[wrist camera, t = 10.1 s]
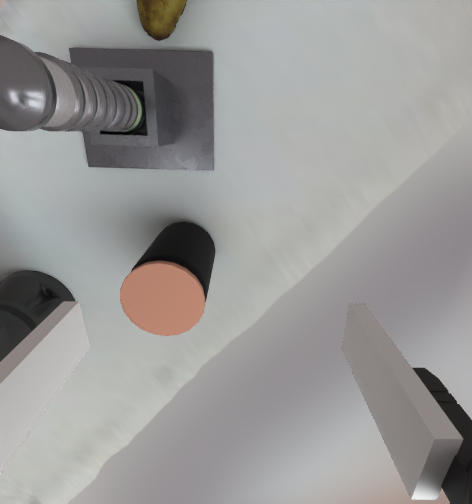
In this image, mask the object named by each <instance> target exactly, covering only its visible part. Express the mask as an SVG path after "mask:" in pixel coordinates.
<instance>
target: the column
mask: <svg viewBox="0 0 472 504" xmlns="http://www.w3.org/2000/svg"><path fill="white" fill-rule="evenodd" d="M146 122H147V121H146V109H145V99H144V98H143V96H142V95H141V94H140V93H139V92H138V91H136V90H134V89H132V88H130V87H127V86H125V85H122V84H120V83H117V82H115V81H112V80H110V79H107V78H102V77H101V76H99V75H97V74H95V73H93V72H90V71H87V70H85V69H83V68H80V67H78V66H75V65H73V64H70V63H68V62H65V61H63V60H60V59H58V58H55V57H53V56H51V55H48V54H45V53H41V52H34V51H32V50H31V49H30V48H28V47H27V46H25V45H23V44H21V43H18V42H16V41H13V40H11V39H9V38H6V37H4V36H1V35H0V129H3V130H7V131H33V130H37V129H43V130H47V131H101V130H103V131H122V132H126V131H128V132H131V131H137V130H139V129H141V128H142V127H143V126H144V125H145V123H146Z"/></svg>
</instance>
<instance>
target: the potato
mask: <svg viewBox="0 0 472 504" xmlns="http://www.w3.org/2000/svg"><path fill="white" fill-rule="evenodd" d="M186 2H187V0H137V7H138V12H139V17H140V21H141V24H142V26H143V28H144V30H145V31H146V32H147V33H148V35H149V36H151V37H152V38H153V39H155V40H159V41H160V40H163V39H166V38H168V37H169V36H170V35H171V33H172V32H173V31H174V28H175V27H176V23H177V22H178V19H179V16H180V15H181V14H182V13H183V11H184V8H185V6H186Z"/></svg>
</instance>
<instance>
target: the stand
mask: <svg viewBox="0 0 472 504" xmlns="http://www.w3.org/2000/svg"><path fill="white" fill-rule="evenodd" d="M69 51H70V57H71V63H72V64H73V65H75V66H78V67H80V68H83V69H85V70H87V71H90V72H93V73H95V74H97V75H99V76H101V77H102V78H107V79H110V80H112V81H115V82H117V83H120V84H122V85H125V86H127V87H130V88H132V89H134V90H136V91H138V92H139V93H140V94H141V95H142V96H143V98H144V99H145V109H146V121H147V122H146V123H145V125H144V126H143V127H142V128H141V129H139V130H137V131H131V132H128V131H126V132H122V131H103V130H101V131H83V136H84V142H85V148H86V154H87V160H88V166H89V167H107V168H143V169H179V170H214V113H213V52H201V51H165V50H128V49H92V48H69Z"/></svg>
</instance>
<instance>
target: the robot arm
mask: <svg viewBox="0 0 472 504" xmlns="http://www.w3.org/2000/svg"><path fill="white" fill-rule="evenodd" d="M89 348H90V344H89V340H88V336H87V332H86V328H85V324H84V320H83V316H82V312H81V308H80V304H79V302H75V300H74V298H73V296H72V295H71V293H70V292H69V290H68V289H67V288H66V287H65V286H64V285H63V284H62V283H60V282H59V281H58V280H56V279H54V278H53V277H51V276H49V275H46V274H43V273H40V272H35V271H21V272H17V273H14V274H12V275H10V276H8V277H7V278H5V279H4V280H2V281H1V282H0V474H1V473H2V471H3V470H4V469H5V467H6V466H7V464H8V463H9V461H10V460H11V459H12V457H13V456H14V454H15V453H16V452H17V450H18V449H19V447H20V446H21V444H22V443H23V442H24V440H25V439H26V437H27V436H28V434H29V433H30V432H31V430H32V429H33V427H34V426H35V424H36V423H37V422H38V420H39V419H40V417H41V416H42V414H43V413H44V412H45V410H46V409H47V407H48V406H49V404H50V403H51V402H52V400H53V399H54V397H55V396H56V395H57V393H58V392H59V390H60V389H61V387H62V386H63V385H64V383H65V382H66V380H67V379H68V377H69V376H70V375H71V373H72V372H73V370H74V369H75V367H76V366H77V365H78V363H79V362H80V360H81V359H82V357H83V356H84V355H85V353H86V352H87V350H88V349H89ZM341 349H342V351H343V353H344V355H345V358H346V360H347V362H348V364H349V366H350V368H351V370H352V373H353V375H354V377H355V379H356V381H357V383H358V386H359V388H360V390H361V392H362V394H363V396H364V399H365V401H366V403H367V405H368V407H369V409H370V412H371V414H372V416H373V418H374V420H375V422H376V424H377V427H378V429H379V431H380V433H381V435H382V438H383V440H384V442H385V444H386V446H387V448H388V450H389V453H390V455H391V457H392V459H393V461H394V464H395V466H396V468H397V470H398V472H399V474H400V477H401V479H402V481H403V483H404V485H405V487H406V490H407V492H408V494H409V496H410V498H411V499H418V500H437V497H438V495H439V493H440V491H441V488H442V489H443V490H444V492H445V494H446V496H447V498H448V499H449V501H450V504H472V420H471V419H470V417H469V416H468V415H467V414H466V413H465V411H464V410H463V409H462V407H461V406H460V405H459V404H457V401H456V400H455V399H454V397H453V396H452V395H451V394H449V393H448V390H447V389H446V387H445V386H444V385H443V384H442V382H441V381H440V380H439V379H438V378H437V377H436V376H435V375H433V374H432V373H431V372H429V371H428V370H427V369H425V368H412V367H411V366H410V364H409V363H408V362H407V360H406V359H405V358H404V356H403V355H402V353H401V352H400V351H399V349H398V348H397V346H396V345H395V344H394V342H393V341H392V339H391V338H390V337H389V335H388V334H387V333H386V331H385V330H384V328H383V327H382V326H381V324H380V323H379V322H378V320H377V319H376V317H375V316H374V315H373V313H372V312H371V311H370V309H369V308H368V306H367V305H366V304H365V303H349V308H348V313H347V319H346V325H345V330H344V337H343V342H342V348H341Z"/></svg>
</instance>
